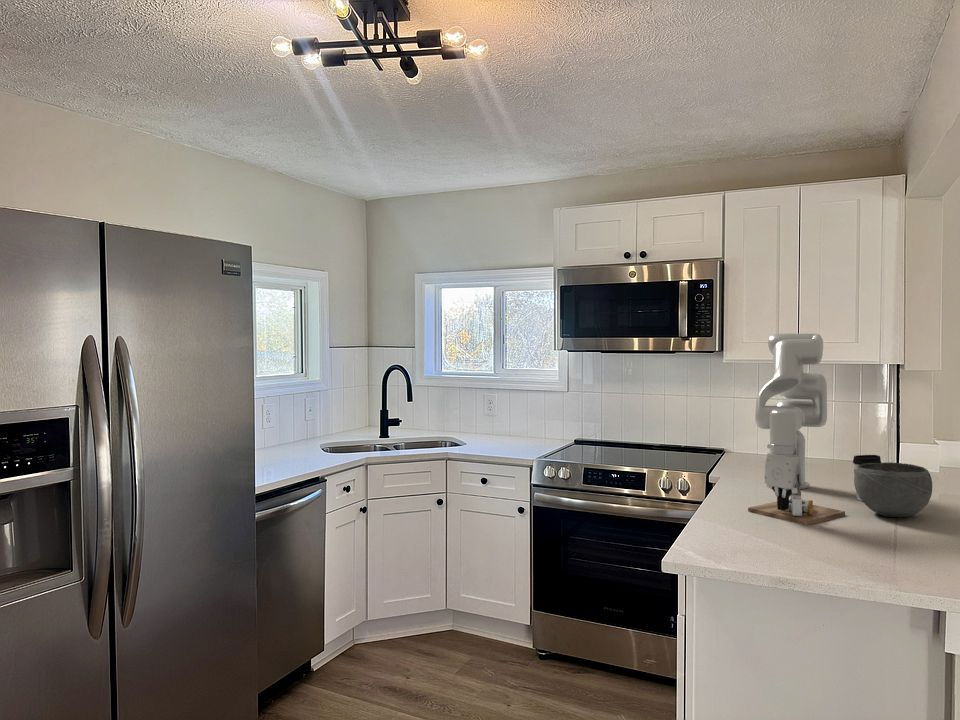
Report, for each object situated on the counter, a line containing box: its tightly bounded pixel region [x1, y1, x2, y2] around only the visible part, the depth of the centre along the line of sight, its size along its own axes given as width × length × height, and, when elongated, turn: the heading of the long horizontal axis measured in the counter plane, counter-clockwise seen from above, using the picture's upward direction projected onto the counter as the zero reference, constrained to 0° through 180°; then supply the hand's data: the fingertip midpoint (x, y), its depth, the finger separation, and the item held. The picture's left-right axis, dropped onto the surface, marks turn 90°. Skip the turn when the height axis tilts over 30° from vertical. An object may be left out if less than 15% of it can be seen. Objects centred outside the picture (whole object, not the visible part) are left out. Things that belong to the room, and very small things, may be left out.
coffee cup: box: [852, 454, 882, 502], centre depth 237 cm, size 8×8×15 cm
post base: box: [747, 489, 846, 526], centre depth 221 cm, size 20×20×7 cm
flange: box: [786, 495, 808, 516], centre depth 218 cm, size 9×14×5 cm, turn 158°
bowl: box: [853, 462, 933, 518], centre depth 217 cm, size 21×21×15 cm
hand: (783, 509), depth 217 cm, fingers closed
